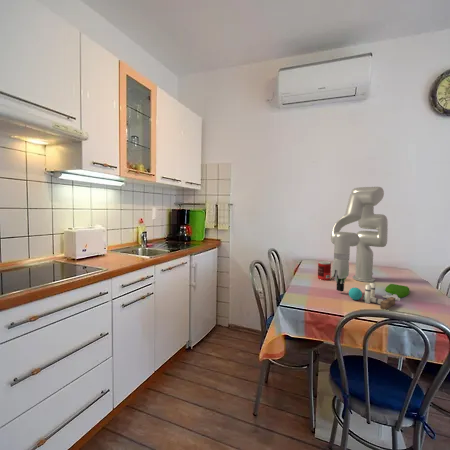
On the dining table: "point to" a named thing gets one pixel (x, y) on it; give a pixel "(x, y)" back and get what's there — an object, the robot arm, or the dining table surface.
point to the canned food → (324, 270)
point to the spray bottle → (396, 291)
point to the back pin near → (367, 293)
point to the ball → (355, 293)
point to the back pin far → (372, 289)
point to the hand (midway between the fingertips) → (340, 290)
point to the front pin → (374, 300)
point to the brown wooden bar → (387, 303)
